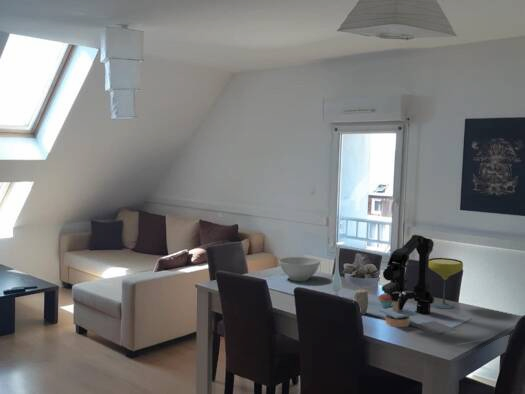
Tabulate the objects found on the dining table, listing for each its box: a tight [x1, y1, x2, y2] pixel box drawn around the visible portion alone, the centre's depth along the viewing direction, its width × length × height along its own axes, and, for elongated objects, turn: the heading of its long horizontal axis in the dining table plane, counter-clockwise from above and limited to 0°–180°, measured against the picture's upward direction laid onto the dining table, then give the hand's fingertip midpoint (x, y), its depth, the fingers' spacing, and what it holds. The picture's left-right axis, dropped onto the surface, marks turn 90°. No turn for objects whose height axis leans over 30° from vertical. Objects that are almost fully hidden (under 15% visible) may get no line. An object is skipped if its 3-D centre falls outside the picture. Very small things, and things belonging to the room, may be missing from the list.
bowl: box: [385, 314, 411, 328], centre depth 268 cm, size 11×11×4 cm
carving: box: [353, 288, 369, 315], centre depth 286 cm, size 6×8×12 cm
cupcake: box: [378, 293, 393, 309], centre depth 298 cm, size 9×8×12 cm
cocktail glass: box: [428, 257, 464, 310], centre depth 300 cm, size 18×18×25 cm
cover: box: [378, 299, 418, 318], centre depth 267 cm, size 13×13×6 cm
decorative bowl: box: [278, 256, 321, 282], centre depth 361 cm, size 27×27×12 cm
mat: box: [411, 320, 458, 335], centre depth 263 cm, size 15×15×1 cm
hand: (398, 308), depth 267 cm, fingers closed on cover, 4 cm apart
